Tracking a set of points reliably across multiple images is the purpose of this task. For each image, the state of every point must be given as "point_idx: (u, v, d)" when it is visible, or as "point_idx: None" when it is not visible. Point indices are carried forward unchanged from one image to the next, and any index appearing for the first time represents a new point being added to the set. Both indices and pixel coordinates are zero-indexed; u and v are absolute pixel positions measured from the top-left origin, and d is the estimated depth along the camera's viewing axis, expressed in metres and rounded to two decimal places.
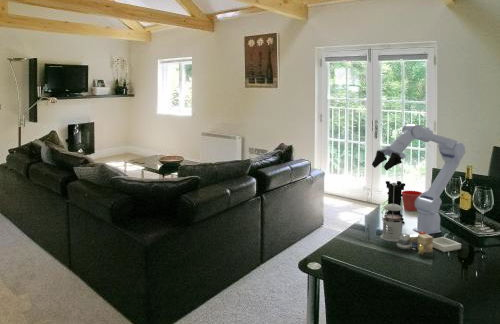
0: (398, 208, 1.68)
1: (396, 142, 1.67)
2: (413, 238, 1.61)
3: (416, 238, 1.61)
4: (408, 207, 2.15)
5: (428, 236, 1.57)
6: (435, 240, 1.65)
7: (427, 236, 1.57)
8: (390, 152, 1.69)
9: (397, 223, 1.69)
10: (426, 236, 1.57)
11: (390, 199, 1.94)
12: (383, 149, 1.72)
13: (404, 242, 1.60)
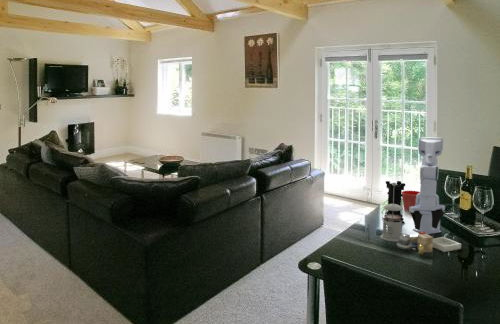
0: (398, 208, 1.68)
1: (433, 199, 1.53)
2: (413, 238, 1.61)
3: (416, 238, 1.61)
4: (408, 207, 2.15)
5: (428, 236, 1.57)
6: (435, 240, 1.65)
7: (427, 236, 1.57)
8: None
9: (397, 223, 1.69)
10: (426, 236, 1.57)
11: (390, 199, 1.94)
12: (420, 209, 1.53)
13: (404, 242, 1.60)
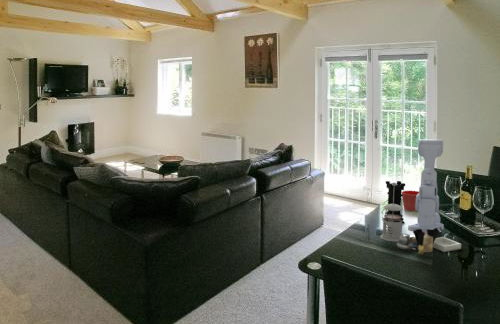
0: (398, 208, 1.68)
1: (432, 218, 1.54)
2: (413, 238, 1.61)
3: None
4: (408, 207, 2.15)
5: (428, 236, 1.57)
6: (435, 240, 1.65)
7: (427, 236, 1.57)
8: None
9: (397, 223, 1.69)
10: (426, 236, 1.57)
11: (390, 199, 1.94)
12: (419, 228, 1.55)
13: (404, 242, 1.60)
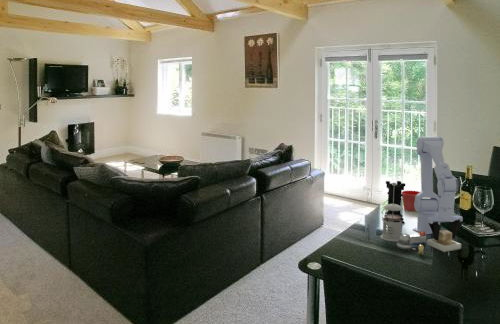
0: (398, 208, 1.68)
1: (452, 210, 1.57)
2: (413, 238, 1.61)
3: (416, 238, 1.61)
4: (408, 207, 2.15)
5: (447, 232, 1.60)
6: (435, 240, 1.65)
7: (446, 232, 1.60)
8: None
9: (397, 223, 1.69)
10: (445, 232, 1.61)
11: (390, 199, 1.94)
12: (439, 220, 1.58)
13: (404, 242, 1.60)
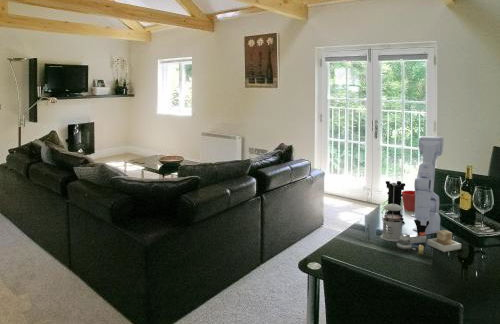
0: (398, 208, 1.68)
1: (415, 207, 1.63)
2: (413, 238, 1.61)
3: (416, 238, 1.61)
4: (408, 207, 2.15)
5: (447, 232, 1.60)
6: (435, 240, 1.65)
7: (446, 232, 1.60)
8: None
9: (397, 223, 1.69)
10: (445, 232, 1.61)
11: (390, 199, 1.94)
12: None
13: (404, 242, 1.60)
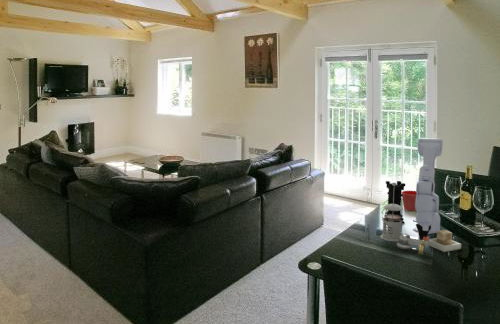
0: (398, 208, 1.68)
1: (416, 211, 1.58)
2: (412, 240, 1.59)
3: (416, 241, 1.58)
4: (408, 207, 2.15)
5: (447, 232, 1.60)
6: (435, 240, 1.65)
7: (446, 232, 1.60)
8: None
9: (397, 223, 1.69)
10: (445, 232, 1.61)
11: (390, 199, 1.94)
12: None
13: (401, 241, 1.61)
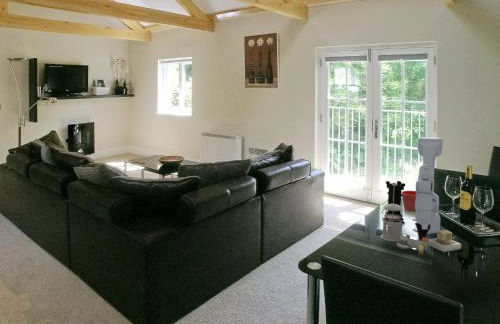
0: (398, 208, 1.68)
1: (416, 210, 1.59)
2: (411, 240, 1.59)
3: (415, 241, 1.58)
4: (408, 207, 2.15)
5: (447, 232, 1.60)
6: (435, 240, 1.65)
7: (446, 232, 1.60)
8: None
9: (397, 223, 1.69)
10: (445, 232, 1.61)
11: (390, 199, 1.94)
12: None
13: (400, 241, 1.61)
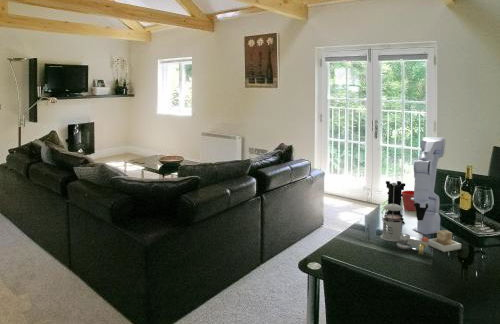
0: (398, 208, 1.68)
1: (414, 190, 1.64)
2: (411, 240, 1.59)
3: (415, 241, 1.58)
4: (408, 207, 2.15)
5: (447, 232, 1.60)
6: (435, 240, 1.65)
7: (446, 232, 1.60)
8: None
9: (397, 223, 1.69)
10: (445, 232, 1.61)
11: (390, 199, 1.94)
12: None
13: (400, 241, 1.61)
